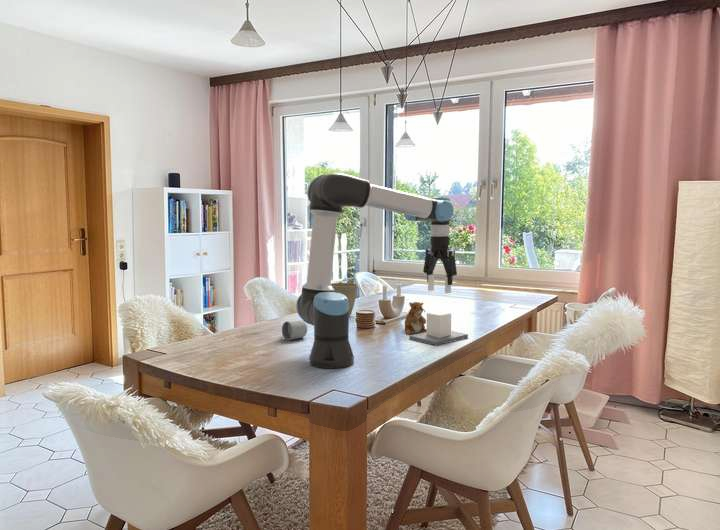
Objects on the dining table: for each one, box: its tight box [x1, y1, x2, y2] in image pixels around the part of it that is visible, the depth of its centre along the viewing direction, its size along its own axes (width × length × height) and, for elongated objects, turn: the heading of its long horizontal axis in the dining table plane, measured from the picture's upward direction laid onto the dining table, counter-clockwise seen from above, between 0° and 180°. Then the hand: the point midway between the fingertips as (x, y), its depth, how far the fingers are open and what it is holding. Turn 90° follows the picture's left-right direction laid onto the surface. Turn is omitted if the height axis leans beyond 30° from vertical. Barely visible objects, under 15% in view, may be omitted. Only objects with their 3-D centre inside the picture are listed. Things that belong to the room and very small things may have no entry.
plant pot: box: [331, 282, 358, 317], centre depth 261 cm, size 15×15×16 cm
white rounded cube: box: [426, 310, 452, 338], centre depth 212 cm, size 7×7×9 cm
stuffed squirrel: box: [404, 301, 427, 335], centre depth 226 cm, size 10×14×13 cm
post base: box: [408, 330, 469, 346], centre depth 213 cm, size 20×14×8 cm
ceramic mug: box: [281, 320, 308, 341], centre depth 214 cm, size 11×8×8 cm
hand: (439, 291), depth 211 cm, fingers open, 8 cm apart
